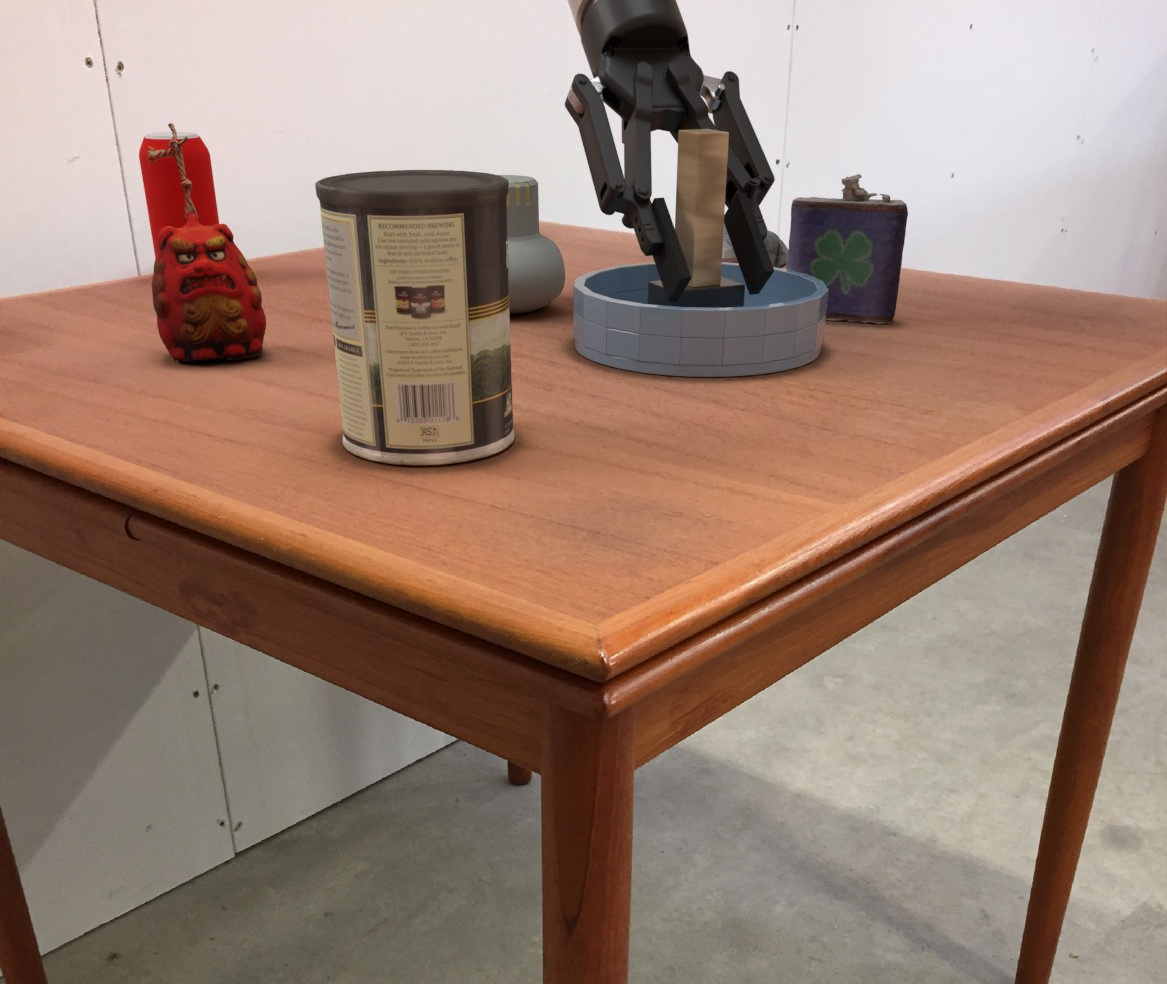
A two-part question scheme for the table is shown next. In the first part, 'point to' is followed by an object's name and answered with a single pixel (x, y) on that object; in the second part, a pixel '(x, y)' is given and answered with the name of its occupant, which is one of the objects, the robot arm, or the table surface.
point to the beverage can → (177, 183)
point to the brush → (701, 222)
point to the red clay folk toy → (204, 286)
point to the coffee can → (420, 313)
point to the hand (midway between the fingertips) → (721, 285)
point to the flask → (851, 250)
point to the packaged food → (773, 246)
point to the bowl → (698, 325)
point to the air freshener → (530, 250)
